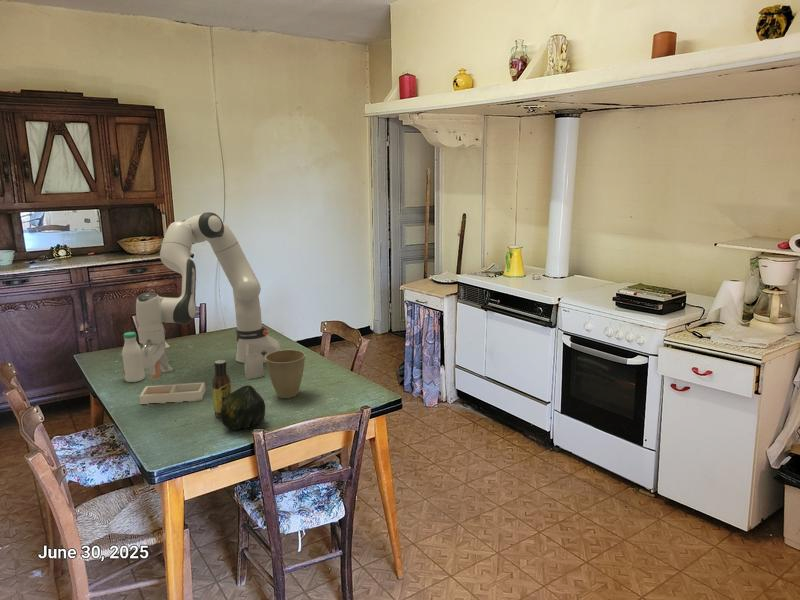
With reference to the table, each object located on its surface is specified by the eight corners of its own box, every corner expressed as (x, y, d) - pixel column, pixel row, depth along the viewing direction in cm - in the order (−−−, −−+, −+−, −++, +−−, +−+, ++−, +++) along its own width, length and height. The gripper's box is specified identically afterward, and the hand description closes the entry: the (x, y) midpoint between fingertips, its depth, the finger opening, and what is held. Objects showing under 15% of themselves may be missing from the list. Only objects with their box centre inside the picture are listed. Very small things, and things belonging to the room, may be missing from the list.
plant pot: (262, 392, 236) (259, 353, 232) (298, 385, 243) (296, 347, 240) (275, 406, 224) (272, 365, 220) (313, 397, 231) (310, 357, 227)
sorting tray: (205, 390, 239) (204, 382, 238) (201, 400, 230) (200, 391, 229) (146, 394, 236) (145, 386, 235) (140, 405, 226) (139, 396, 225)
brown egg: (162, 374, 232) (160, 359, 231) (160, 378, 228) (158, 363, 227) (151, 375, 232) (149, 360, 230) (148, 379, 228) (147, 363, 226)
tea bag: (263, 376, 254) (262, 353, 251) (247, 379, 250) (246, 356, 248) (260, 374, 257) (259, 351, 254) (245, 377, 253) (243, 354, 251)
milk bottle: (149, 377, 255) (143, 331, 250) (134, 383, 248) (128, 336, 243) (135, 374, 258) (130, 329, 253) (120, 381, 251) (114, 334, 246)
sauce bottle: (225, 419, 213) (220, 365, 208) (211, 417, 215) (205, 363, 210) (236, 412, 218) (232, 359, 214) (222, 410, 221) (217, 357, 216)
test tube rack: (173, 371, 262) (170, 341, 259) (162, 373, 260) (159, 343, 257) (160, 355, 283) (157, 328, 280) (150, 357, 280) (147, 330, 277)
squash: (206, 412, 206) (225, 385, 199) (239, 398, 218) (258, 373, 211) (229, 445, 202) (249, 419, 195) (261, 429, 215) (281, 405, 207)
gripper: (153, 344, 217) (157, 380, 220) (166, 328, 236) (169, 362, 240) (135, 345, 216) (139, 382, 219) (149, 329, 236) (153, 363, 239)
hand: (155, 371), depth 229 cm, fingers closed on brown egg, 4 cm apart
